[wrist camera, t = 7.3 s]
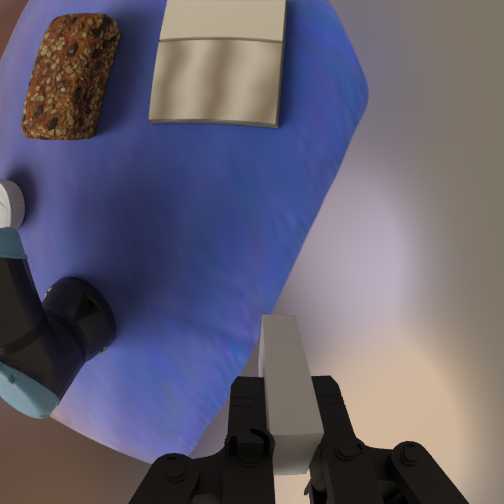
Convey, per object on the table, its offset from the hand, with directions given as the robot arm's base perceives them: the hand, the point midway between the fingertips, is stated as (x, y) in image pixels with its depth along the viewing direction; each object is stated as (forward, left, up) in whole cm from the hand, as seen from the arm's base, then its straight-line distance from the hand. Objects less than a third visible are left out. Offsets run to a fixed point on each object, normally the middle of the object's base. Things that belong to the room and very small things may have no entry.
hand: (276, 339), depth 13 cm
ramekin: (-46, 0, -28) cm, 54 cm away
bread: (-29, +20, -28) cm, 45 cm away
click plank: (-7, +18, -27) cm, 33 cm away
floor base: (-7, +22, -28) cm, 36 cm away
